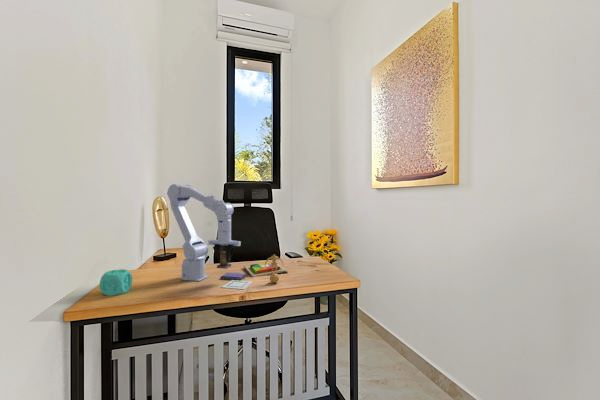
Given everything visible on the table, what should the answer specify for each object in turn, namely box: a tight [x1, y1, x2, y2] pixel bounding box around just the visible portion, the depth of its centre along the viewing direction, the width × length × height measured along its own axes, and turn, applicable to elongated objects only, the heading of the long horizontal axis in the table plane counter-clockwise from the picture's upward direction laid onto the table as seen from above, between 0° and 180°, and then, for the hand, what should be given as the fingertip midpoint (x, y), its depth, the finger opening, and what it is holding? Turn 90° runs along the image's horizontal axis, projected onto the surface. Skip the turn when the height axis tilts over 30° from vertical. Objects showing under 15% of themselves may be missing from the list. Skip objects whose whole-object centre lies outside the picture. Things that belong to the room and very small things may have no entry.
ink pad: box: [219, 272, 248, 281], centre depth 129 cm, size 10×7×1 cm
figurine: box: [264, 254, 284, 284], centre depth 123 cm, size 8×6×12 cm
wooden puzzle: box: [243, 260, 289, 278], centre depth 142 cm, size 18×19×4 cm
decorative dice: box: [99, 268, 133, 297], centre depth 109 cm, size 8×8×8 cm
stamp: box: [216, 250, 232, 270], centre depth 122 cm, size 4×4×6 cm
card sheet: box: [221, 280, 254, 290], centre depth 119 cm, size 10×10×1 cm
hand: (224, 261), depth 122 cm, fingers closed on stamp, 3 cm apart
